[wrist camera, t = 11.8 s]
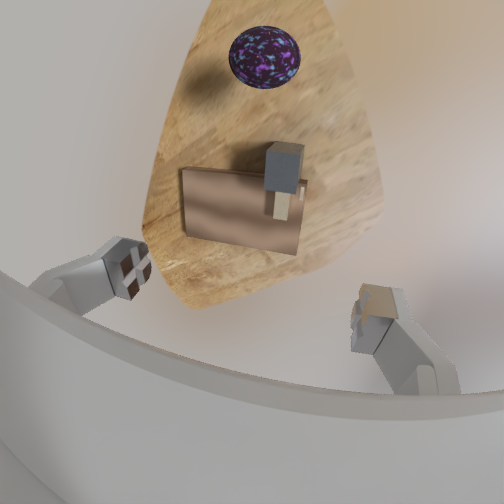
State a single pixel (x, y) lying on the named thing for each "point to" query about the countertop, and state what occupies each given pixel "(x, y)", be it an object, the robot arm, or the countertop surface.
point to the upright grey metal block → (283, 174)
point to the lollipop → (264, 57)
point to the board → (239, 210)
